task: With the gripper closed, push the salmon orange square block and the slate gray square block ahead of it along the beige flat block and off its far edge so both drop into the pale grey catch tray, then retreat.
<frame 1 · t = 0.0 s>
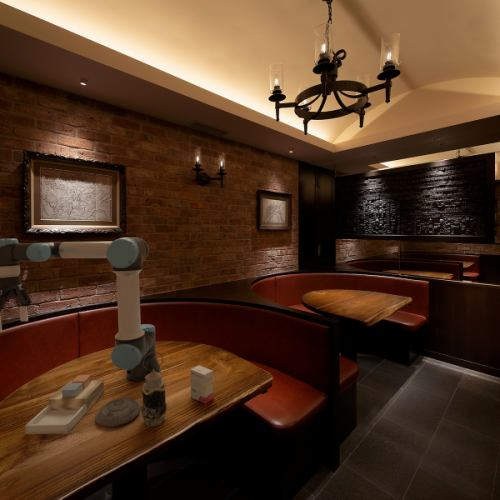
hand: (11, 326, 119), 28 cm above the table, fingers open, 13 cm apart
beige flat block: (78, 401, 113), on the table
ink box: (202, 398, 115), on the table
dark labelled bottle: (154, 420, 101), on the table
flying saucer: (119, 416, 104), on the table
salmon orange square block: (81, 385, 115), point 5 cm above the table, touching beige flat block
slate gray square block: (73, 393, 109), point 5 cm above the table, touching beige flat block
tray: (58, 422, 101), on the table
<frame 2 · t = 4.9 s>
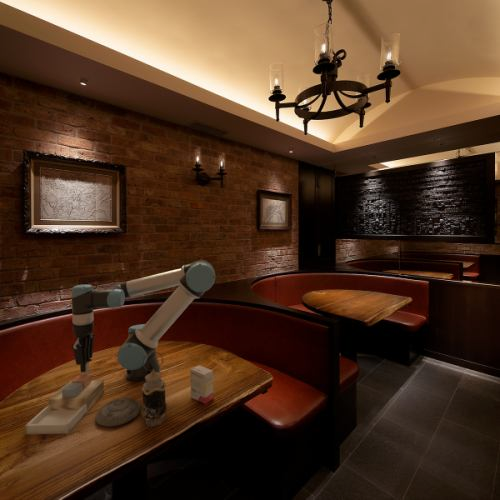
hand: (85, 377, 119), 6 cm above the table, fingers closed
salmon orange square block: (81, 385, 115), point 5 cm above the table, touching gripper
everything else where it was.
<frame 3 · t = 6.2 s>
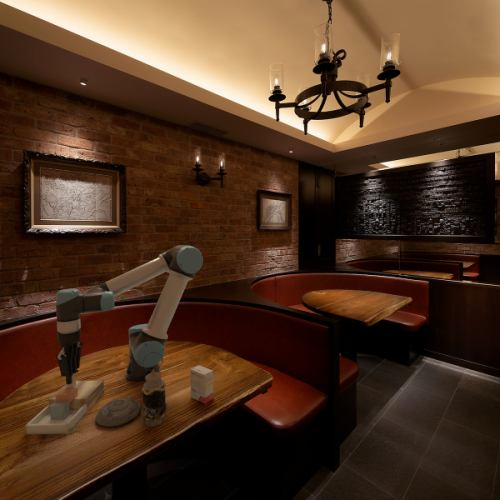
hand: (71, 390, 109), 6 cm above the table, fingers closed
salmon orange square block: (67, 399, 106), point 5 cm above the table, touching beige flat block
slate gray square block: (62, 407, 104), point 3 cm above the table, tilted 90°, touching tray
everything else where it was.
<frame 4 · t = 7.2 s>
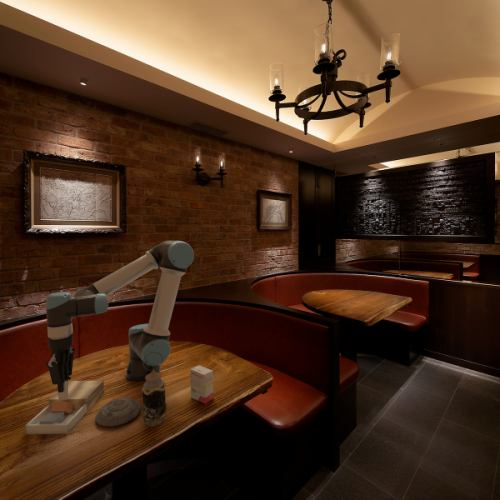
hand: (63, 398, 104), 6 cm above the table, fingers closed
salmon orange square block: (61, 412, 102), point 2 cm above the table, tilted 42°, touching slate gray square block, tray
slate gray square block: (51, 416, 98), point 4 cm above the table, tilted 180°, touching salmon orange square block, tray
everything else where it was.
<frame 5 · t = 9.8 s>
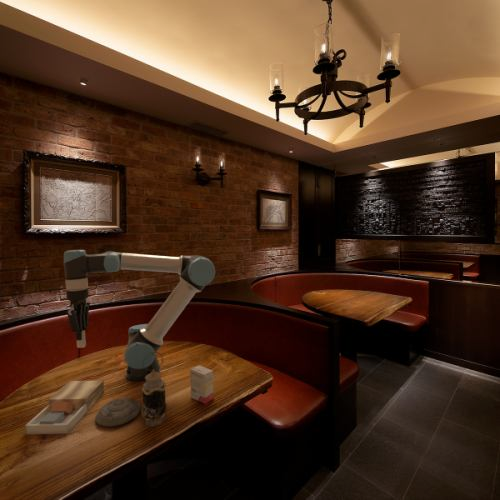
hand: (81, 346, 114), 21 cm above the table, fingers closed
nothing on the table moved.
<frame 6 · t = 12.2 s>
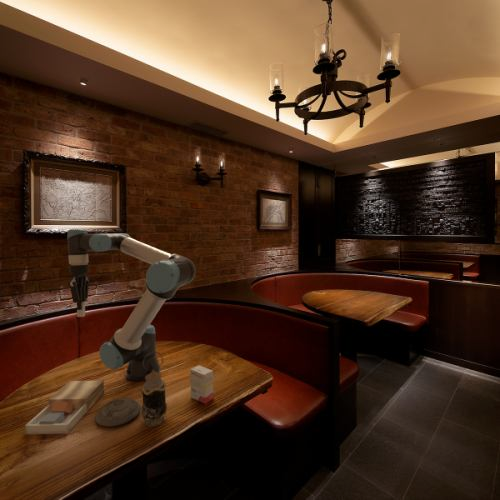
hand: (81, 316, 128), 29 cm above the table, fingers closed
nothing on the table moved.
at the end: salmon orange square block inside the target area on the tray (1.7 cm from its centre), point 2.5 cm above the tray's base; slate gray square block inside the target area on the tray (2.4 cm from its centre), point 3.8 cm above the tray's base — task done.
